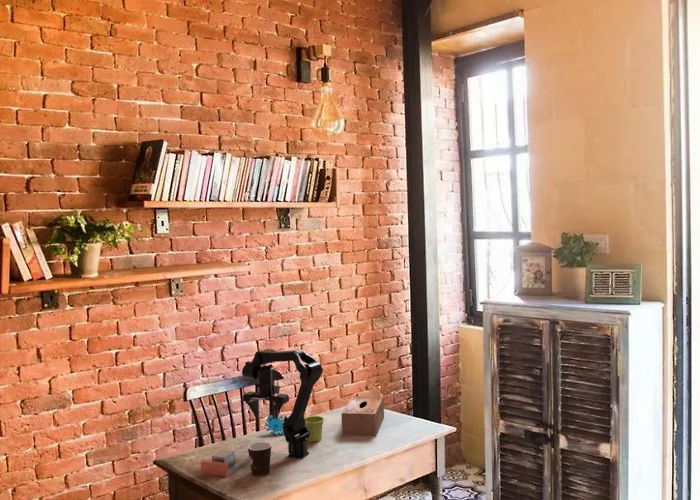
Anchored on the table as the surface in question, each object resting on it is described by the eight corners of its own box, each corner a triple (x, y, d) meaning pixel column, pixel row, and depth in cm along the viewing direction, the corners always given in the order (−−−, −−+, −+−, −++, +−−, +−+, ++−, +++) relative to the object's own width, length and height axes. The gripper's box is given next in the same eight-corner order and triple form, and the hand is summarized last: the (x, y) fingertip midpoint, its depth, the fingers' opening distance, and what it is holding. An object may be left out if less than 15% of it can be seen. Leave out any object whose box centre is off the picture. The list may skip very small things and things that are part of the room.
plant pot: (298, 442, 272) (297, 421, 272) (308, 435, 281) (307, 415, 281) (319, 444, 269) (318, 423, 268) (328, 437, 278) (327, 416, 277)
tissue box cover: (353, 417, 304) (352, 396, 303) (384, 418, 301) (383, 396, 301) (342, 436, 279) (341, 413, 278) (376, 437, 276) (375, 413, 275)
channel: (251, 459, 255) (251, 448, 255) (226, 476, 239) (225, 464, 238) (227, 456, 259) (227, 445, 259) (201, 473, 243) (200, 461, 243)
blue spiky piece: (265, 434, 279) (265, 412, 286) (263, 440, 283) (263, 419, 290) (291, 434, 282) (290, 413, 289) (288, 441, 286) (288, 420, 293)
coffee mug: (249, 469, 246) (248, 442, 245) (272, 467, 246) (271, 441, 246) (247, 481, 234) (246, 454, 233) (271, 479, 235) (270, 452, 234)
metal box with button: (236, 465, 250) (235, 450, 249) (224, 473, 243) (224, 457, 242) (223, 464, 252) (223, 448, 251) (212, 471, 245) (211, 455, 244)
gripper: (294, 377, 270) (296, 414, 271) (255, 374, 277) (256, 410, 278) (281, 384, 260) (283, 423, 260) (241, 381, 267) (242, 418, 268)
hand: (266, 418), depth 267 cm, fingers open, 9 cm apart
